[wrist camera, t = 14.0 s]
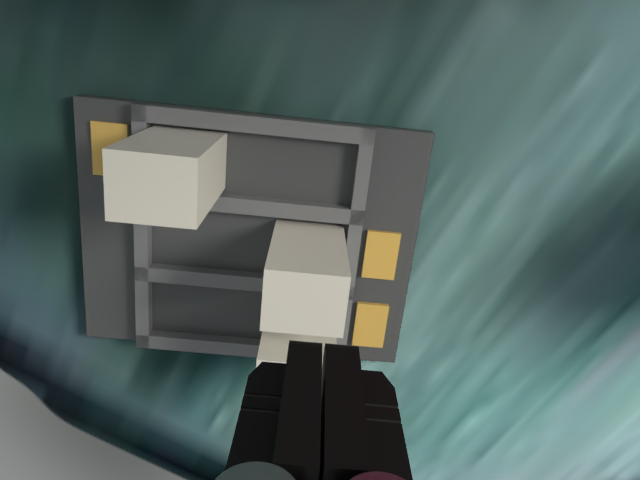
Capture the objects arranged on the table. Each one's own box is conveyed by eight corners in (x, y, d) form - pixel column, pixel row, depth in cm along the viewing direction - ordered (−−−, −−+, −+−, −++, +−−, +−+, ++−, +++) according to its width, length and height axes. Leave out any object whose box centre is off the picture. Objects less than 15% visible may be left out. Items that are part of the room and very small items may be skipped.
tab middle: (343, 225, 31) (351, 277, 24) (337, 274, 32) (343, 338, 25) (276, 219, 31) (263, 269, 23) (272, 268, 32) (259, 330, 25)
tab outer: (333, 298, 32) (338, 366, 25) (328, 342, 33) (331, 420, 26) (270, 292, 32) (256, 359, 25) (266, 337, 33) (252, 413, 26)
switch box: (431, 130, 30) (437, 135, 28) (392, 354, 35) (396, 369, 33) (80, 94, 29) (66, 97, 27) (93, 328, 34) (81, 342, 32)
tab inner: (227, 132, 29) (198, 158, 22) (225, 187, 30) (196, 229, 23) (155, 124, 29) (102, 148, 22) (155, 181, 30) (105, 221, 23)
